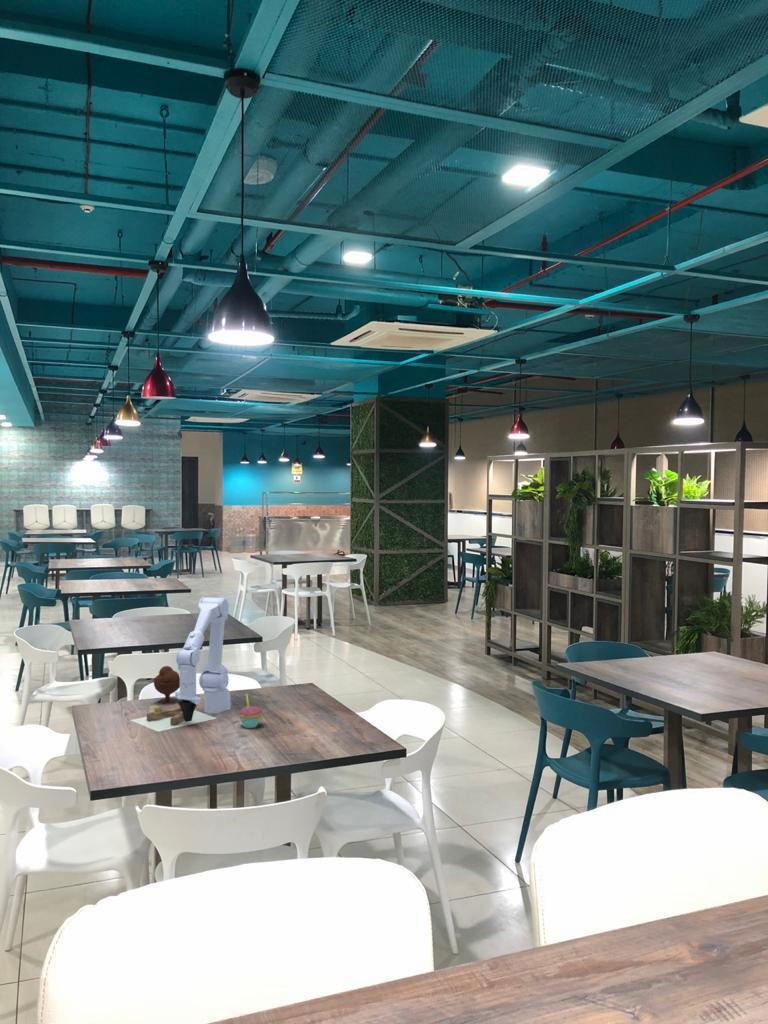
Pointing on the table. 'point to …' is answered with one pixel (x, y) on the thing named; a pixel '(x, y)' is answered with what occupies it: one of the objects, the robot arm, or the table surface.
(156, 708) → the pale yellow rectangular block
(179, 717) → the tong jaw
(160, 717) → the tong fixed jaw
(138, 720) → the serving board
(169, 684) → the ice cream bowl
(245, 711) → the cupcake
